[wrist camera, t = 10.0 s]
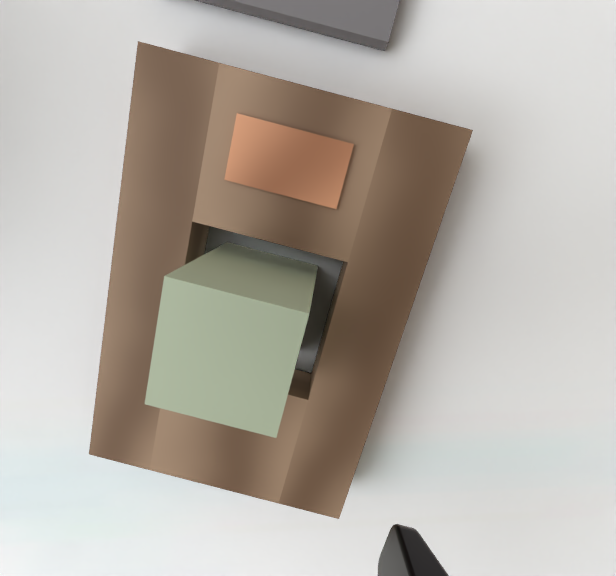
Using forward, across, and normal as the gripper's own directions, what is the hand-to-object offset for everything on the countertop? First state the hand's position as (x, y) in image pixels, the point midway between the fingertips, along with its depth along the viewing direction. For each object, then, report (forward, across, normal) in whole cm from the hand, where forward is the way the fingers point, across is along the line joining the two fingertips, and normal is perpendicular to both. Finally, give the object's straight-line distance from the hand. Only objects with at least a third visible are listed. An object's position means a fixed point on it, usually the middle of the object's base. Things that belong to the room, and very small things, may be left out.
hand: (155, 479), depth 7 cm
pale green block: (+12, 0, 0) cm, 12 cm away
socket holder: (+12, 0, 0) cm, 12 cm away
